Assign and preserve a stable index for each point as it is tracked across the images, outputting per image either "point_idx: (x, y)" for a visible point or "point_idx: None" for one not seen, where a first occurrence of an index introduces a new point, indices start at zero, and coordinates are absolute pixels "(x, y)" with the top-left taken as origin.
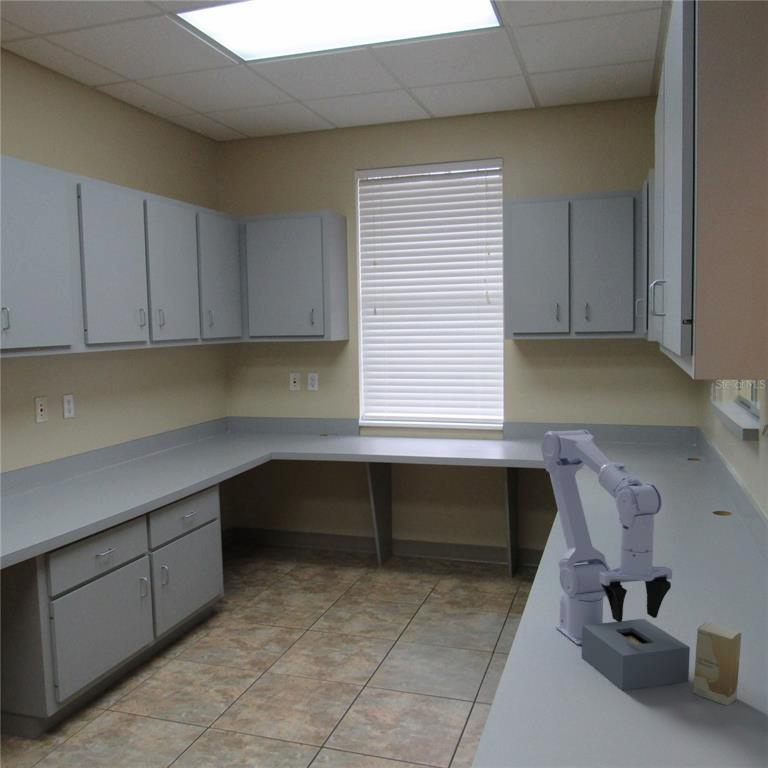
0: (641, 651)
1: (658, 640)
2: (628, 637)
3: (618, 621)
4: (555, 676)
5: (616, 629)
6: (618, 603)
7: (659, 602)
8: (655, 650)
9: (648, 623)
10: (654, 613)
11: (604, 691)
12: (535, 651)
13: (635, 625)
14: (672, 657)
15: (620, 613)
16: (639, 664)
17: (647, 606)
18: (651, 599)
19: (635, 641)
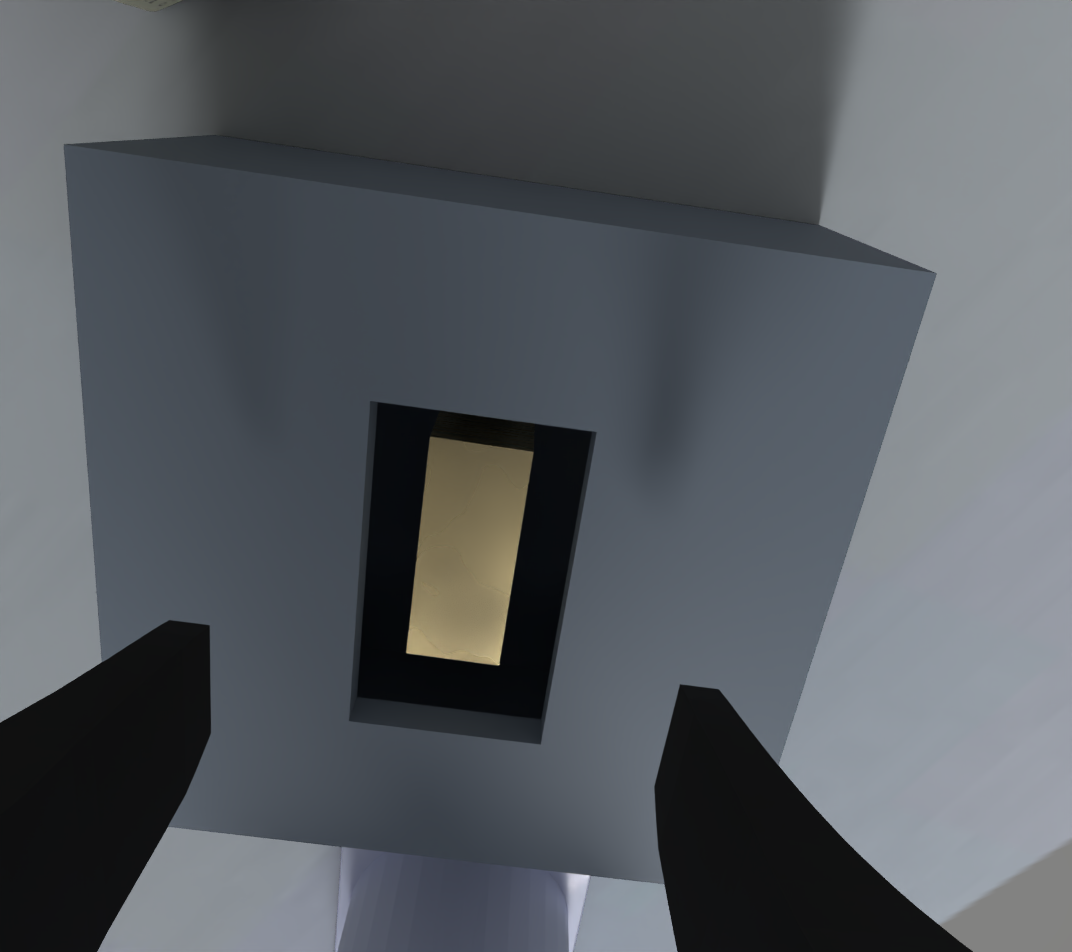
0: (673, 277)
1: (296, 422)
2: (454, 639)
3: (720, 696)
4: (1056, 574)
5: (517, 745)
6: (873, 871)
7: (37, 732)
8: (507, 237)
9: None
10: (185, 652)
11: (942, 272)
12: (889, 856)
13: (287, 746)
14: (322, 172)
15: (751, 749)
16: (708, 227)
17: (169, 809)
18: (93, 857)
19: (452, 558)
